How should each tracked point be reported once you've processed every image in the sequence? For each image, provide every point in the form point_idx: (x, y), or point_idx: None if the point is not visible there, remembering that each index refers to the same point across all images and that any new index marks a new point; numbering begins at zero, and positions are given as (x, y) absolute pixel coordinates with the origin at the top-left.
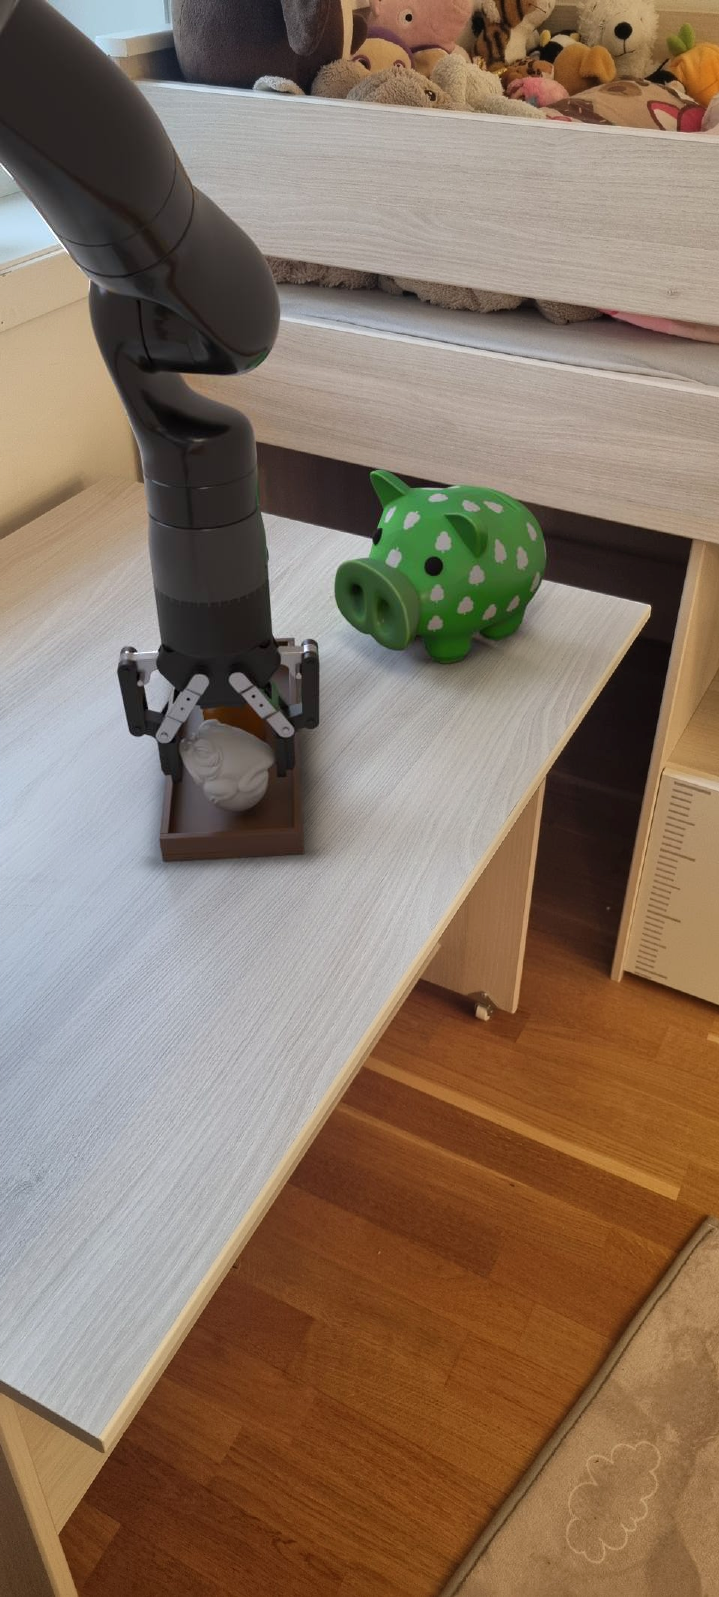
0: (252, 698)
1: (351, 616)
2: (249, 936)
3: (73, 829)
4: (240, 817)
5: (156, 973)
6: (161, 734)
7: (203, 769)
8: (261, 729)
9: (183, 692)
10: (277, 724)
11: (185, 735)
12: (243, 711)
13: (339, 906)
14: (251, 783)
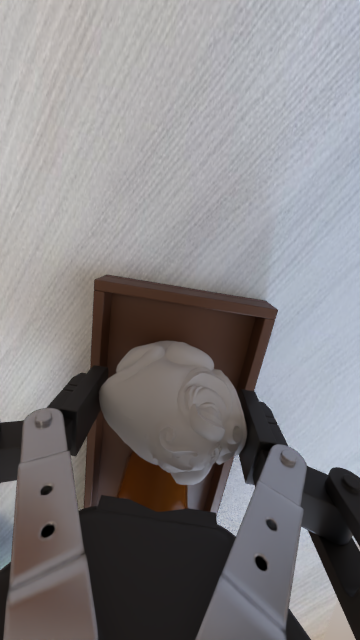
0: (55, 522)
1: None
2: (189, 133)
3: (348, 376)
4: None
5: (320, 84)
6: (295, 463)
7: (213, 385)
8: (127, 467)
9: (284, 604)
10: (50, 434)
11: (207, 479)
12: (138, 495)
13: (72, 166)
14: (143, 352)
